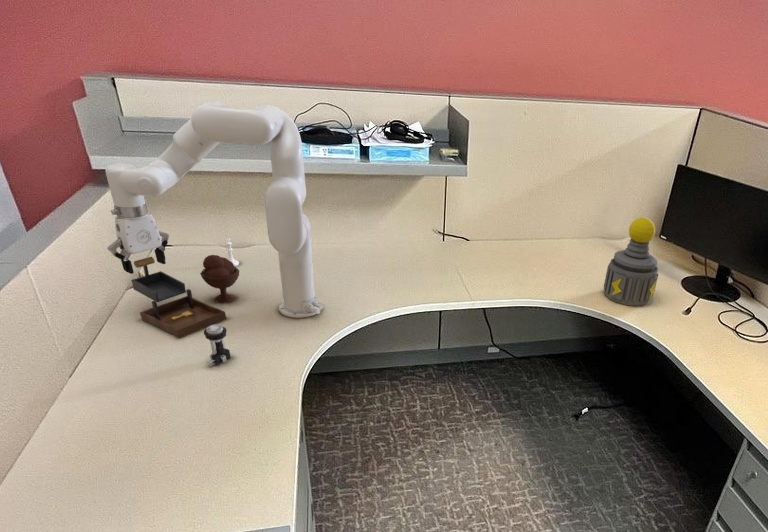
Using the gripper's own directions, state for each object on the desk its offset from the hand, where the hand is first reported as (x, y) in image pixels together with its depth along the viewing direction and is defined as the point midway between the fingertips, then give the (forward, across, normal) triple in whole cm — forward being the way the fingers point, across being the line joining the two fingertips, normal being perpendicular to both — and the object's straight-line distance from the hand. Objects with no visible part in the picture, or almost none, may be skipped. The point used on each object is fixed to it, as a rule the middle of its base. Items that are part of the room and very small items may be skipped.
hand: (145, 267), depth 166 cm
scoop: (+6, 0, -4) cm, 7 cm away
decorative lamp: (+13, +110, -115) cm, 160 cm away
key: (+12, 0, -13) cm, 17 cm away
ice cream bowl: (+13, +16, -11) cm, 23 cm away
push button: (+13, -9, -41) cm, 44 cm away
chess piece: (+13, +36, +11) cm, 40 cm away
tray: (+13, 0, -14) cm, 19 cm away
